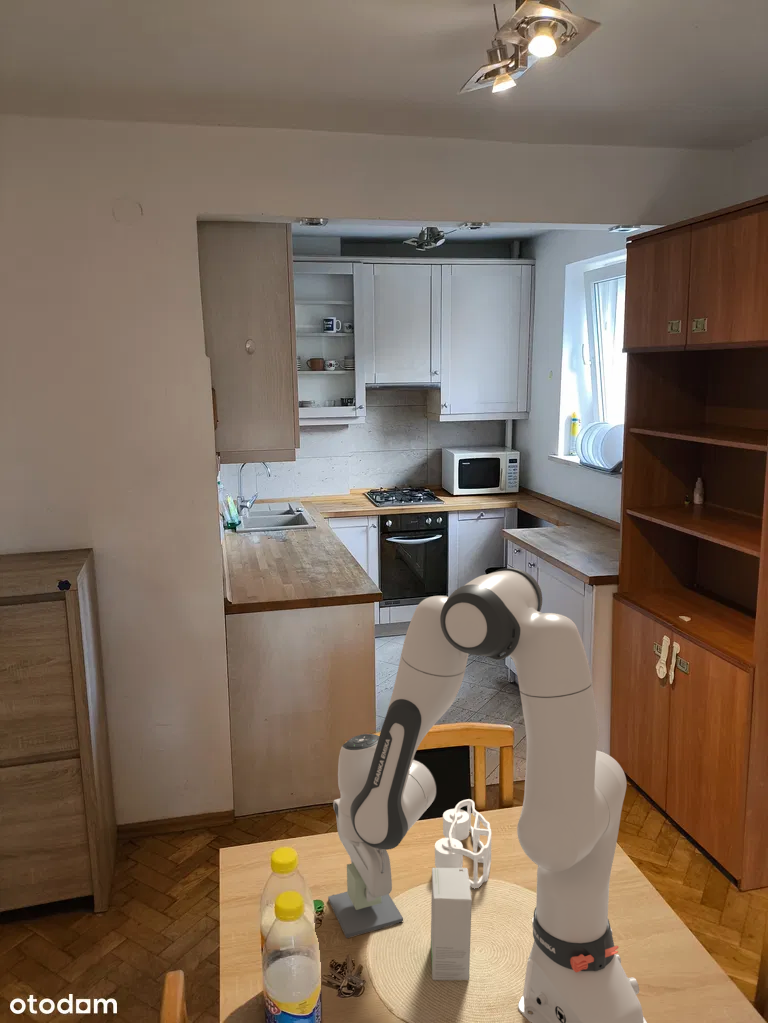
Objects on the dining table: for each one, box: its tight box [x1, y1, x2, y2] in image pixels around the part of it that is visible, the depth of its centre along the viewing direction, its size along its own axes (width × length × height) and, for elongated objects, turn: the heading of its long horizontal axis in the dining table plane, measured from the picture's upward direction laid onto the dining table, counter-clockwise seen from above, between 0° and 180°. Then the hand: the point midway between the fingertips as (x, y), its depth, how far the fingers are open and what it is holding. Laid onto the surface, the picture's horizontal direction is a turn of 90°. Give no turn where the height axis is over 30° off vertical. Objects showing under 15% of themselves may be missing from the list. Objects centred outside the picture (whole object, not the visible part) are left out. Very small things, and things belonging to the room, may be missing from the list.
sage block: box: [346, 863, 381, 910], centre depth 143 cm, size 5×5×6 cm
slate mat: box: [327, 891, 404, 939], centre depth 143 cm, size 11×11×1 cm
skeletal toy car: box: [434, 798, 492, 890], centre depth 159 cm, size 20×11×7 cm, turn 167°
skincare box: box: [430, 867, 473, 981], centre depth 129 cm, size 8×7×16 cm
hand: (364, 887), depth 143 cm, fingers closed on sage block, 5 cm apart
